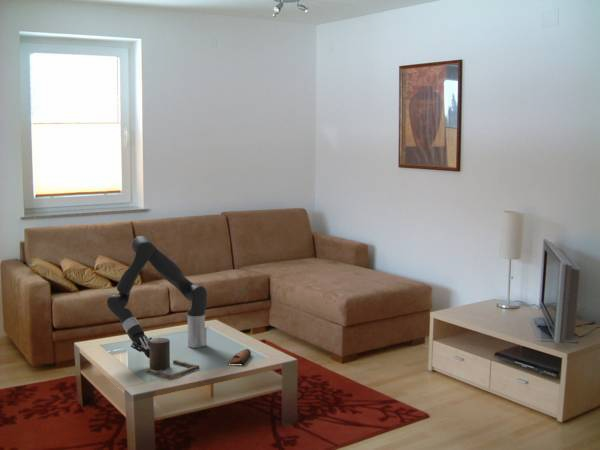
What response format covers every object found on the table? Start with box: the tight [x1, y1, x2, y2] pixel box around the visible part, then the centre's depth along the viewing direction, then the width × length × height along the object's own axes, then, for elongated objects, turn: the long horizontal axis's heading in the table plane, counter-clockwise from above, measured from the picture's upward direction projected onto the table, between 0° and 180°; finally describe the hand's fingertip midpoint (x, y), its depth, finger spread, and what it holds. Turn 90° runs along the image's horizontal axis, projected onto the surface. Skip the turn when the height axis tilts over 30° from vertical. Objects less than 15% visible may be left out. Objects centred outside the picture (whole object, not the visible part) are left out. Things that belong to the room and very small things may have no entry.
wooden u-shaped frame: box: [146, 359, 200, 380], centre depth 343 cm, size 16×19×2 cm
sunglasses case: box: [227, 348, 252, 365], centre depth 360 cm, size 18×7×7 cm, turn 172°
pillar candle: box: [149, 337, 171, 371], centre depth 347 cm, size 10×10×15 cm
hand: (150, 356), depth 349 cm, fingers closed
